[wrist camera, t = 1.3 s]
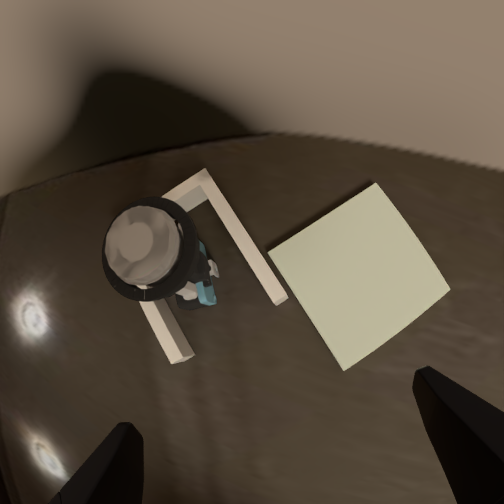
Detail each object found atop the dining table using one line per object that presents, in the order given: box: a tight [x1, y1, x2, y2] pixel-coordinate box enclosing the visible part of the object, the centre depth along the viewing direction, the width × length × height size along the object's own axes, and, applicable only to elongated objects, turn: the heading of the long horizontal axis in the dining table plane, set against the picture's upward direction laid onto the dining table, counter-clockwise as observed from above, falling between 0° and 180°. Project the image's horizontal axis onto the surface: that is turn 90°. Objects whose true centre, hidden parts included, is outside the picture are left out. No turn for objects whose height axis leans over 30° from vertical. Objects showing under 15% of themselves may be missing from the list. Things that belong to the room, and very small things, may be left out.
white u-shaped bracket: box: [136, 168, 288, 364], centre depth 23 cm, size 9×11×2 cm
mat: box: [268, 183, 450, 371], centre depth 22 cm, size 10×10×1 cm
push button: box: [102, 197, 219, 310], centre depth 19 cm, size 7×5×10 cm
